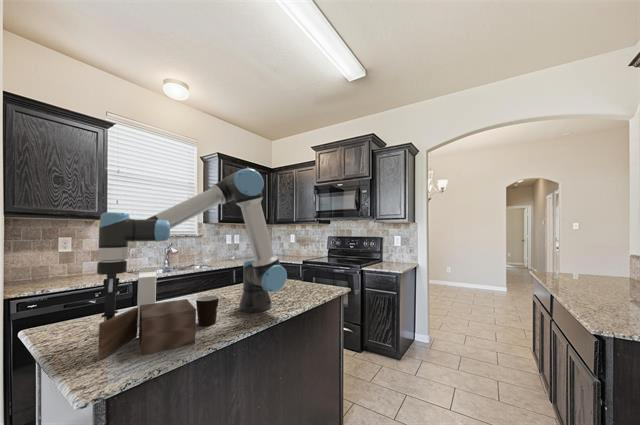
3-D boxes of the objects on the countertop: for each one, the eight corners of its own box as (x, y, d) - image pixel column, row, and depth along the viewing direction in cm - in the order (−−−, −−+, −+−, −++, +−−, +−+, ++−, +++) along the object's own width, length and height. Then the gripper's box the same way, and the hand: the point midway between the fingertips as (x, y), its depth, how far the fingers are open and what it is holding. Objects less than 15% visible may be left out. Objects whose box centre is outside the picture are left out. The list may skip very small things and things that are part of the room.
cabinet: (185, 328, 103) (186, 298, 104) (195, 343, 89) (196, 309, 90) (138, 337, 95) (139, 305, 95) (140, 355, 81) (142, 318, 81)
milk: (137, 322, 110) (139, 267, 112) (155, 319, 113) (156, 266, 115) (136, 326, 105) (138, 269, 107) (154, 324, 108) (156, 268, 110)
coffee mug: (210, 328, 104) (210, 301, 104) (190, 326, 105) (191, 300, 106) (226, 318, 115) (227, 294, 116) (208, 317, 117) (209, 293, 117)
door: (138, 336, 95) (139, 307, 95) (102, 359, 78) (103, 323, 79) (131, 336, 94) (132, 307, 95) (93, 359, 78) (95, 323, 78)
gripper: (99, 259, 90) (95, 332, 88) (95, 263, 79) (90, 346, 78) (127, 258, 94) (123, 327, 93) (127, 262, 84) (123, 340, 82)
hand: (108, 336), depth 85 cm, fingers closed
